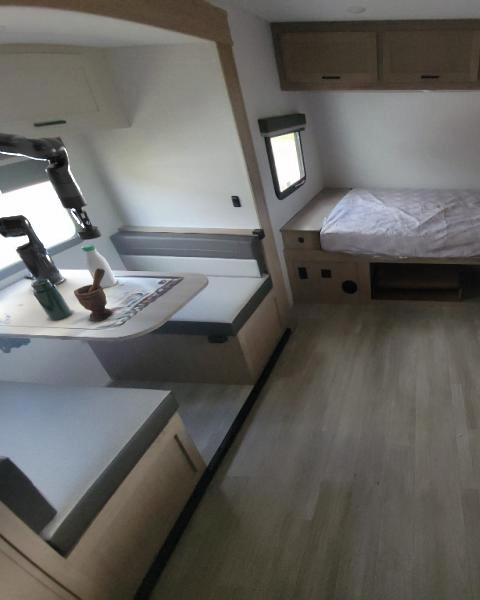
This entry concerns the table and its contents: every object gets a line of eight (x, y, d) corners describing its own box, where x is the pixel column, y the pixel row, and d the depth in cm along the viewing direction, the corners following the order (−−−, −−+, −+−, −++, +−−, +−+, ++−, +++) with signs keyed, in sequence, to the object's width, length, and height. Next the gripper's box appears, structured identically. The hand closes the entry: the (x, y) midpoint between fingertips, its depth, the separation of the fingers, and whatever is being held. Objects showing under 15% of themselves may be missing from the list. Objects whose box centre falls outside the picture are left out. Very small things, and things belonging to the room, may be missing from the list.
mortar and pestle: (111, 305, 146) (89, 264, 135) (126, 308, 144) (106, 267, 134) (84, 319, 137) (58, 277, 126) (100, 323, 135) (76, 280, 124)
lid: (96, 232, 142) (93, 225, 140) (104, 236, 139) (101, 228, 137) (76, 237, 137) (73, 229, 135) (84, 241, 134) (80, 233, 132)
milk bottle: (121, 281, 165) (102, 243, 154) (108, 288, 158) (88, 250, 147) (106, 279, 165) (87, 242, 155) (93, 287, 159) (72, 249, 148)
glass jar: (45, 318, 137) (22, 285, 128) (63, 309, 142) (43, 277, 134) (58, 321, 135) (36, 287, 127) (76, 312, 141) (56, 279, 133)
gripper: (86, 195, 127) (106, 236, 136) (77, 189, 135) (96, 228, 144) (61, 199, 122) (83, 241, 131) (53, 192, 130) (74, 232, 139)
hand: (90, 234), depth 138 cm, fingers closed on lid, 7 cm apart
